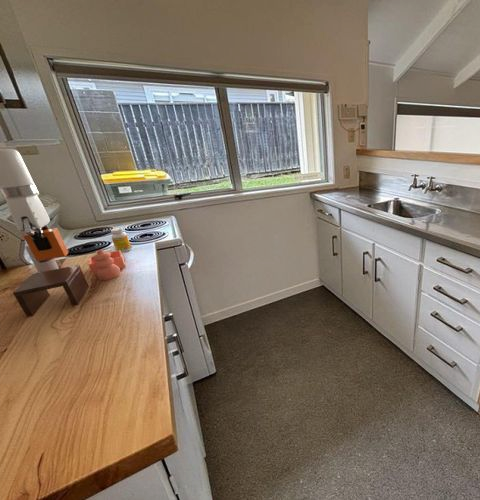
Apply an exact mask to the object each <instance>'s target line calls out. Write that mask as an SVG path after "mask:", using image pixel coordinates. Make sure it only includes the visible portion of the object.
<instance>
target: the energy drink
mask: <svg viewBox="0 0 480 500" xmlns="http://www.w3.org/2000/svg"><path fill="white" fill-rule="evenodd" d="M24 248H25V250H26V252H27V254H28V257H30V260H31V261H32V263H33V265H34V267H35V269H36V271H37V273H40V272H45V271H50V270H55V269H60V267H59V265H58V263H57V261H56V258H54V259H49V260H43V261H38V262H37V261H36V259H35V257H34V255H33V253H32V252H31V250H30V248H29V246H28V244H27V243H26V244H24Z"/></svg>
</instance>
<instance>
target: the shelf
mask: <svg viewBox="0 0 480 500" xmlns="http://www.w3.org/2000/svg"><path fill="white" fill-rule="evenodd" d="M60 287H62V288H63V290H64V291H65V293H66V295H67V297H68V300H69V301H70V304H71V306H72V307H75V306H79V304H80V303H81V301H82V299H83V297H84V296H85V295H86V292H87V291H88V289H89V288H90V285H89V283H88V281H87V278H86V277H85V274H84V272H83V270H82V268H81V266H80V264H76V265H71V266H66V267H61V268H60V267H59V269H55V270H50V271H45V272H40V273H38V272H36V273H32V274H31V275H29V276H28V277H27V279H25V280H24V282H22V283H21V284H20V285H19V286H18V287H17V288H15V290H14V291H13V292H12V294H13V296H14V297H15V299H16V301H17V303H18V305H19V306H20V307H21V309H22V311H23V313H24V314H25V317H27V318H30V317H34V315H35V314H36V313H37V312H38V311H39V309H41V306H43V304H44V303H45V302H46V300H47V299H49V297H50V295H51V294H50V293H49V291H48V290H52V289H56V288H60Z"/></svg>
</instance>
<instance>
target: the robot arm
mask: <svg viewBox="0 0 480 500" xmlns="http://www.w3.org/2000/svg"><path fill="white" fill-rule="evenodd" d="M27 167H28V166H27V165H26V164H25V162H24V159H23V157H22V155H21V153H20V152H19V151H18V150H16V149H14V148H0V195H1V197H2V198H3V200H5V201H6V205H7V208H8V211H9V213H10V215H11V218H12V220H13V222H14V224H15V226H16V228H17V230H18V231H19V232H25V234H28V235H30V237H31V239H32V240H33V242H34V243H35V245H36V247H37V249H38V251H42V250H48V249H51V248H52V246H51V244H50V242H49V241H48V239H47V237H45V236H44V233H43V231H42V230H46V229H51V227H50V225H49V223H50V222H51V219H50V217H49V214H48V212H47V210H46V208H45V206H44V205H43V203H42V201H41V199H40V197H39V195H40V192H39V190H38V188H37V186H36V184H35V182H34V180H33V178H32V176H31V174H30V172H29V170H28V168H27ZM35 231H36V232H35ZM37 231H39V233H38V232H37Z"/></svg>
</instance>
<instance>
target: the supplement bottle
mask: <svg viewBox="0 0 480 500" xmlns="http://www.w3.org/2000/svg"><path fill="white" fill-rule="evenodd" d="M110 232H111V235H110V239H111V240H112V241H111V242H112V243H113V246H114V248H115V251H119V250H121V253H125V252H128V251H130V250H132V248H133V247H132V245H131V242H130V240H129V237H128V234H127V233H126V232H125V231H124V229H123V227H115V228H112V229H110Z"/></svg>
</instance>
